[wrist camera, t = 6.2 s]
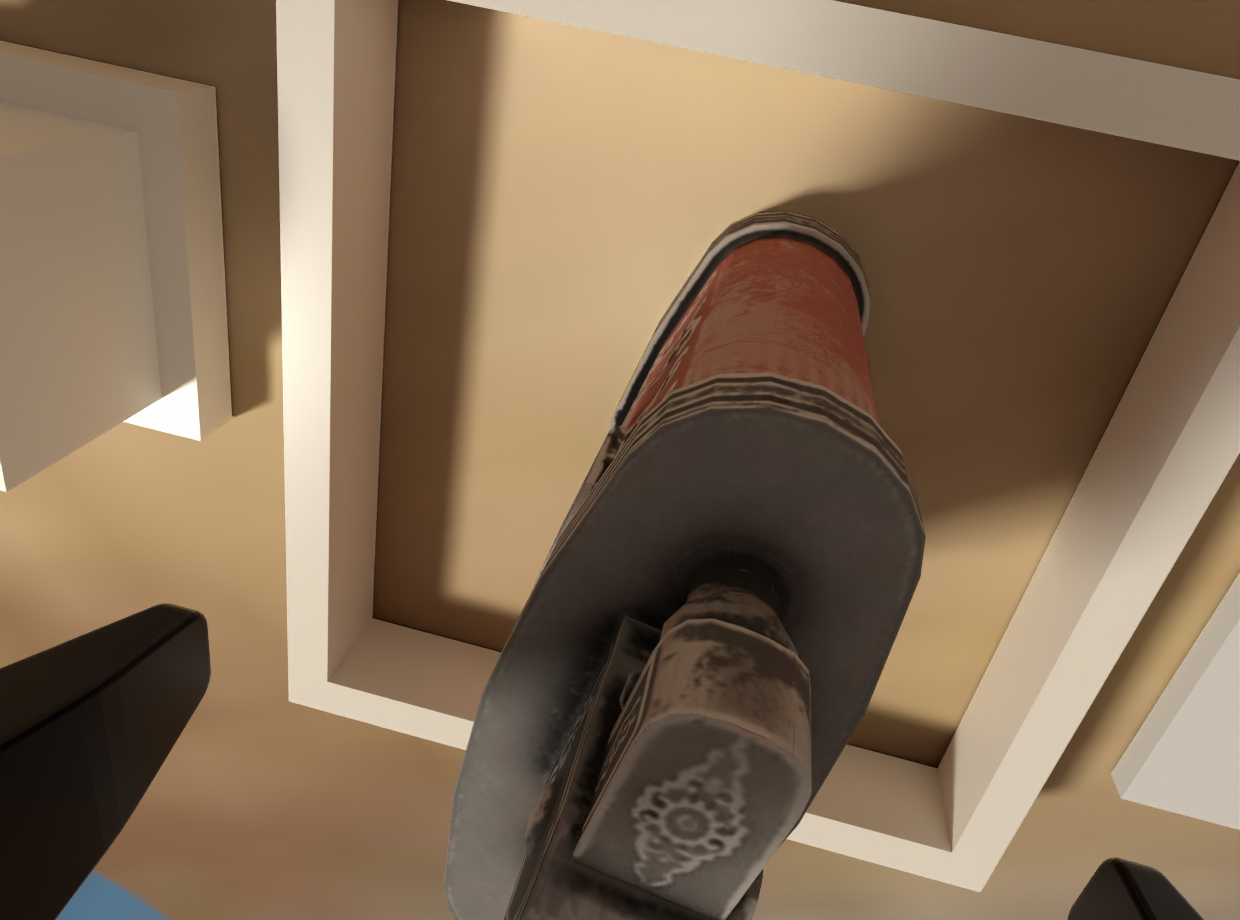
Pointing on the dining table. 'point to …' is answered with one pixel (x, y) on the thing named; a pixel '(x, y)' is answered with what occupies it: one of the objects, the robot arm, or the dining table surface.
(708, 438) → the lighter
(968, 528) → the dining table surface
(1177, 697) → the mat
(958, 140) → the dining table surface
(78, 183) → the holder
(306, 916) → the dining table surface
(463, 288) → the dining table surface
